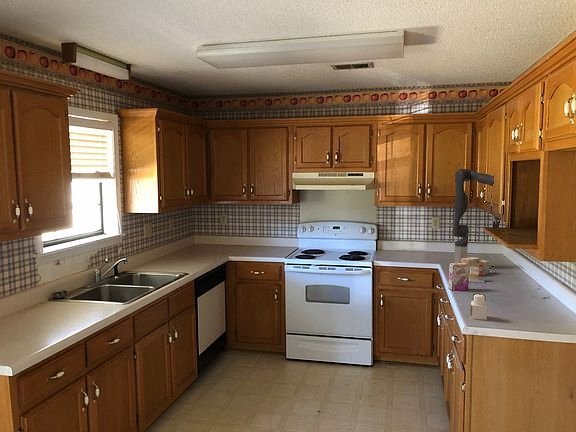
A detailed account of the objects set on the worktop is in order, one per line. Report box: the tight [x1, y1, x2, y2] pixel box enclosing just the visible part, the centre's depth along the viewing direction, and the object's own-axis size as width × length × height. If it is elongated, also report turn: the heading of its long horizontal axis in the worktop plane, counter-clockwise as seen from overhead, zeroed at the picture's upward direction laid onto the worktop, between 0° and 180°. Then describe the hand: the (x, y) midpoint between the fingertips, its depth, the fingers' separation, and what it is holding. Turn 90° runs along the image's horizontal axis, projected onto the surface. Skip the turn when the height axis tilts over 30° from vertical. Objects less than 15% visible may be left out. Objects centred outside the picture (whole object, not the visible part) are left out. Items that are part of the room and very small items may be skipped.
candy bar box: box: [448, 262, 470, 292], centre depth 296 cm, size 11×5×16 cm, turn 100°
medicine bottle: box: [469, 292, 488, 321], centre depth 240 cm, size 7×7×12 cm
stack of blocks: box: [461, 256, 490, 276], centre depth 340 cm, size 21×6×12 cm, turn 115°
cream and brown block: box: [469, 267, 480, 280], centre depth 320 cm, size 5×5×8 cm
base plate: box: [468, 277, 486, 284], centre depth 320 cm, size 12×12×1 cm
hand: (495, 228), depth 326 cm, fingers open, 8 cm apart
